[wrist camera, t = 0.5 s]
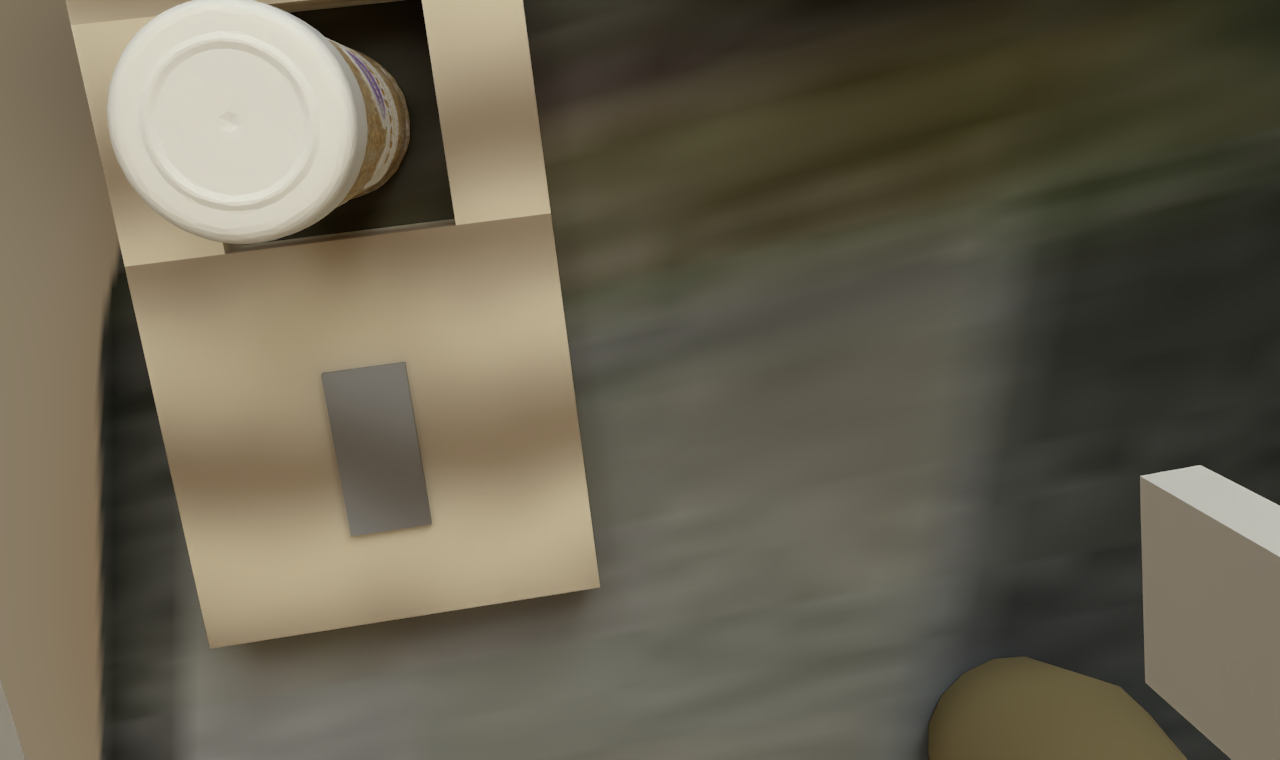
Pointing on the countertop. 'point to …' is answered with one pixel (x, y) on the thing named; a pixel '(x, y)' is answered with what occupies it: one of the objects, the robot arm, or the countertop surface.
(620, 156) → the countertop surface
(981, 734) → the squeeze bottle
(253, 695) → the countertop surface
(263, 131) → the sprinkles bottle
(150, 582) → the countertop surface
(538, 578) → the holder block
